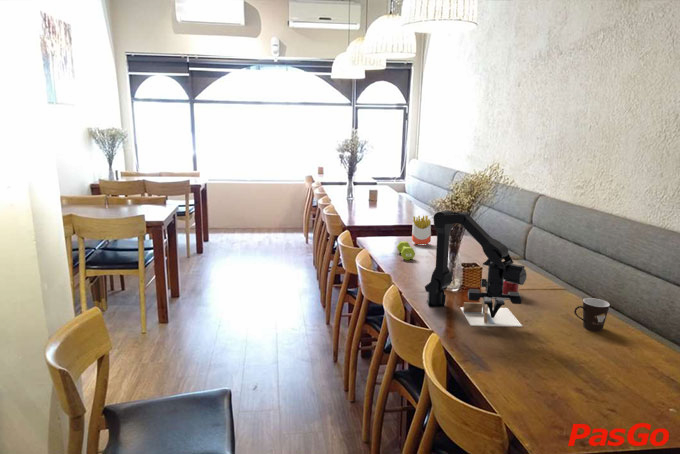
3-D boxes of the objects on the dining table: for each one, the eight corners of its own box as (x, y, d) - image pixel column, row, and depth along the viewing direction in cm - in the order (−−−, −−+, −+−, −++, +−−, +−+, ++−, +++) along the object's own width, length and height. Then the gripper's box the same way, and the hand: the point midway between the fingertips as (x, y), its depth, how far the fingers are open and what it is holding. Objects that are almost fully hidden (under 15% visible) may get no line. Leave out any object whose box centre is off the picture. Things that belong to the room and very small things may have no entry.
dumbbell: (396, 252, 270) (396, 240, 269) (409, 252, 271) (410, 240, 269) (401, 261, 254) (401, 248, 253) (415, 260, 255) (416, 248, 253)
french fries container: (430, 245, 286) (431, 216, 282) (412, 245, 286) (414, 216, 282) (429, 243, 291) (430, 215, 287) (411, 243, 291) (412, 215, 287)
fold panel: (483, 313, 182) (484, 304, 182) (486, 313, 182) (487, 304, 181) (484, 322, 174) (484, 313, 173) (486, 322, 174) (487, 313, 173)
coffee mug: (603, 324, 174) (607, 299, 172) (608, 334, 166) (612, 308, 164) (569, 320, 178) (572, 295, 176) (572, 329, 170) (575, 304, 168)
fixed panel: (464, 314, 183) (464, 302, 182) (462, 312, 185) (463, 301, 184) (488, 314, 183) (488, 303, 182) (486, 312, 185) (487, 301, 184)
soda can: (519, 297, 202) (521, 270, 199) (501, 295, 203) (504, 269, 200) (516, 291, 209) (518, 265, 206) (499, 290, 210) (501, 264, 207)
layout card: (470, 325, 173) (470, 324, 173) (460, 308, 189) (460, 306, 189) (522, 326, 172) (522, 325, 172) (507, 308, 189) (507, 307, 189)
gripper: (518, 273, 178) (514, 311, 181) (468, 270, 181) (465, 307, 185) (523, 282, 167) (519, 323, 171) (470, 279, 171) (467, 318, 174)
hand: (492, 317), depth 175 cm, fingers closed
